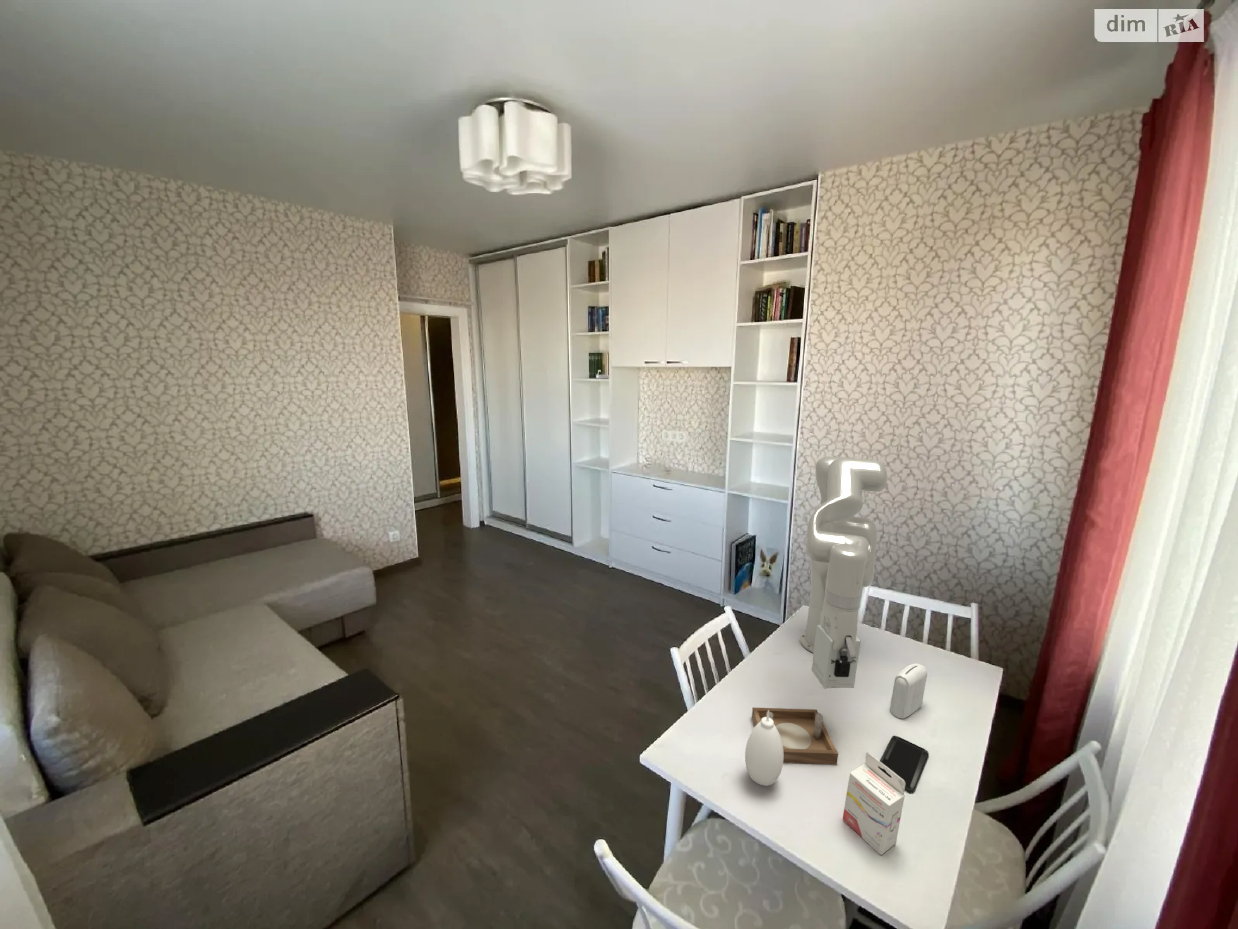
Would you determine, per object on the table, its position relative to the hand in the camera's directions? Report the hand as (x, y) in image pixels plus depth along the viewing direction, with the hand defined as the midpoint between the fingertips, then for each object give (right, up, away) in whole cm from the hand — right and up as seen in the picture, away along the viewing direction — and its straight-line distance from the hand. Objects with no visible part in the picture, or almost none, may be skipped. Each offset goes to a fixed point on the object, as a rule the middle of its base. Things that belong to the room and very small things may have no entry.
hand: (833, 664), depth 120 cm
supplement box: (0, -4, +1) cm, 4 cm away
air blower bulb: (-20, -21, -10) cm, 31 cm away
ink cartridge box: (-2, -24, -22) cm, 33 cm away
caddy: (-10, -18, +1) cm, 21 cm away
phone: (+13, -21, -5) cm, 25 cm away
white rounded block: (+24, -16, +12) cm, 31 cm away
